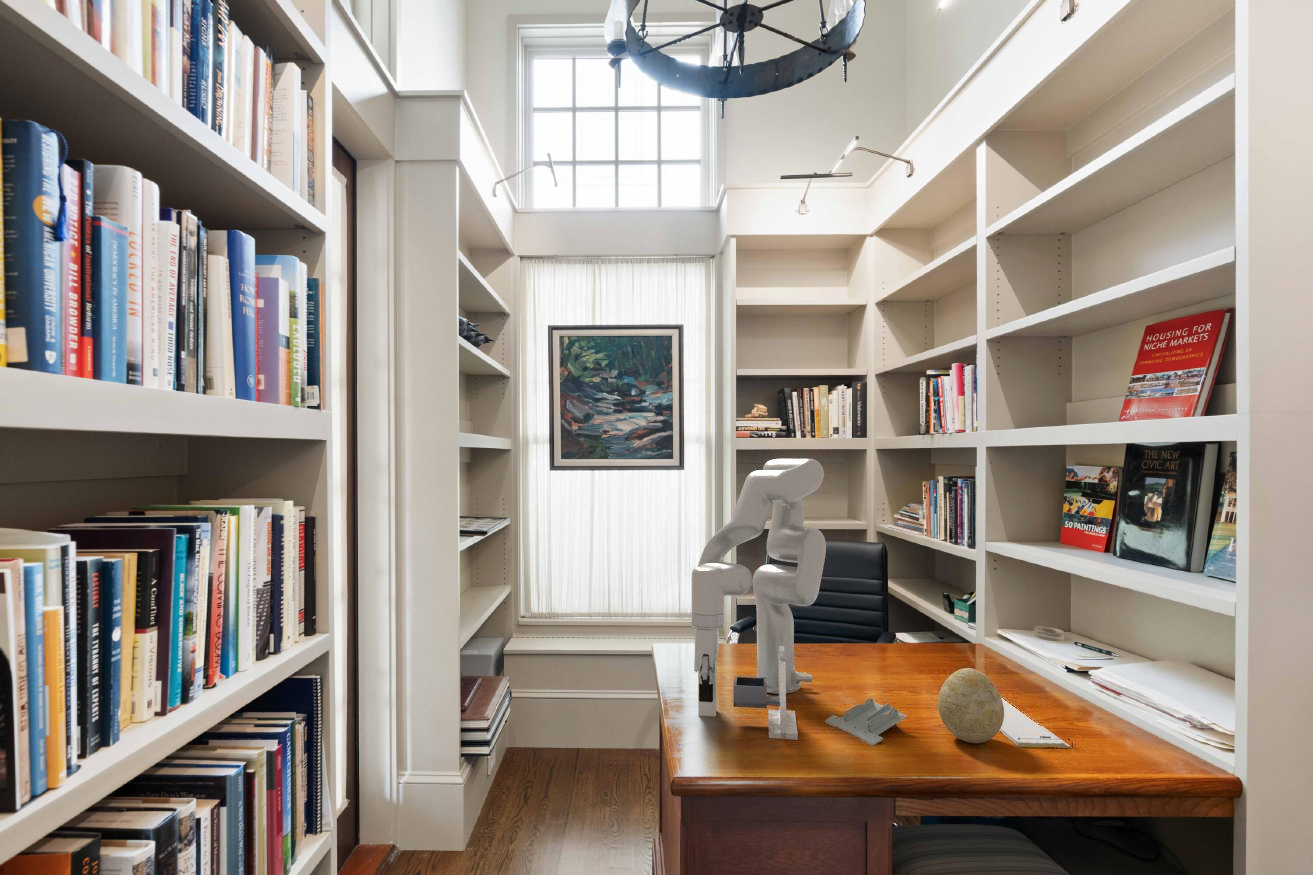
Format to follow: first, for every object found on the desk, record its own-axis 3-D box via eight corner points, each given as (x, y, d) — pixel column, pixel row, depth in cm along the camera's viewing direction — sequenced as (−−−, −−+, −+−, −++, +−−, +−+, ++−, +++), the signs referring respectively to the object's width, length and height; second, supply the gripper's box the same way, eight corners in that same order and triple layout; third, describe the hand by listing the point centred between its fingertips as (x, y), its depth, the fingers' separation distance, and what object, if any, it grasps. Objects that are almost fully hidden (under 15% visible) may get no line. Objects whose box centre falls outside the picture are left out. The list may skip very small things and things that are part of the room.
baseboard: (1008, 700, 174) (959, 699, 174) (1008, 688, 174) (959, 688, 174) (1078, 750, 143) (1018, 749, 143) (1077, 736, 143) (1018, 735, 143)
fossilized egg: (1016, 743, 145) (1015, 670, 146) (983, 758, 138) (982, 681, 138) (959, 725, 155) (958, 657, 156) (926, 737, 148) (925, 666, 148)
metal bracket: (865, 689, 163) (915, 708, 150) (870, 712, 164) (921, 734, 150) (819, 715, 157) (867, 739, 143) (825, 739, 157) (873, 765, 144)
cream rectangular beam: (716, 710, 164) (716, 663, 165) (715, 716, 160) (715, 668, 161) (699, 709, 165) (699, 662, 165) (698, 715, 161) (698, 667, 162)
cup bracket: (794, 715, 161) (794, 645, 161) (797, 739, 147) (797, 662, 148) (735, 712, 163) (735, 643, 163) (732, 735, 149) (732, 660, 150)
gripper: (695, 611, 173) (695, 682, 172) (687, 627, 156) (687, 706, 155) (725, 612, 172) (725, 684, 171) (721, 628, 154) (721, 708, 154)
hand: (707, 694), depth 163 cm, fingers open, 8 cm apart
